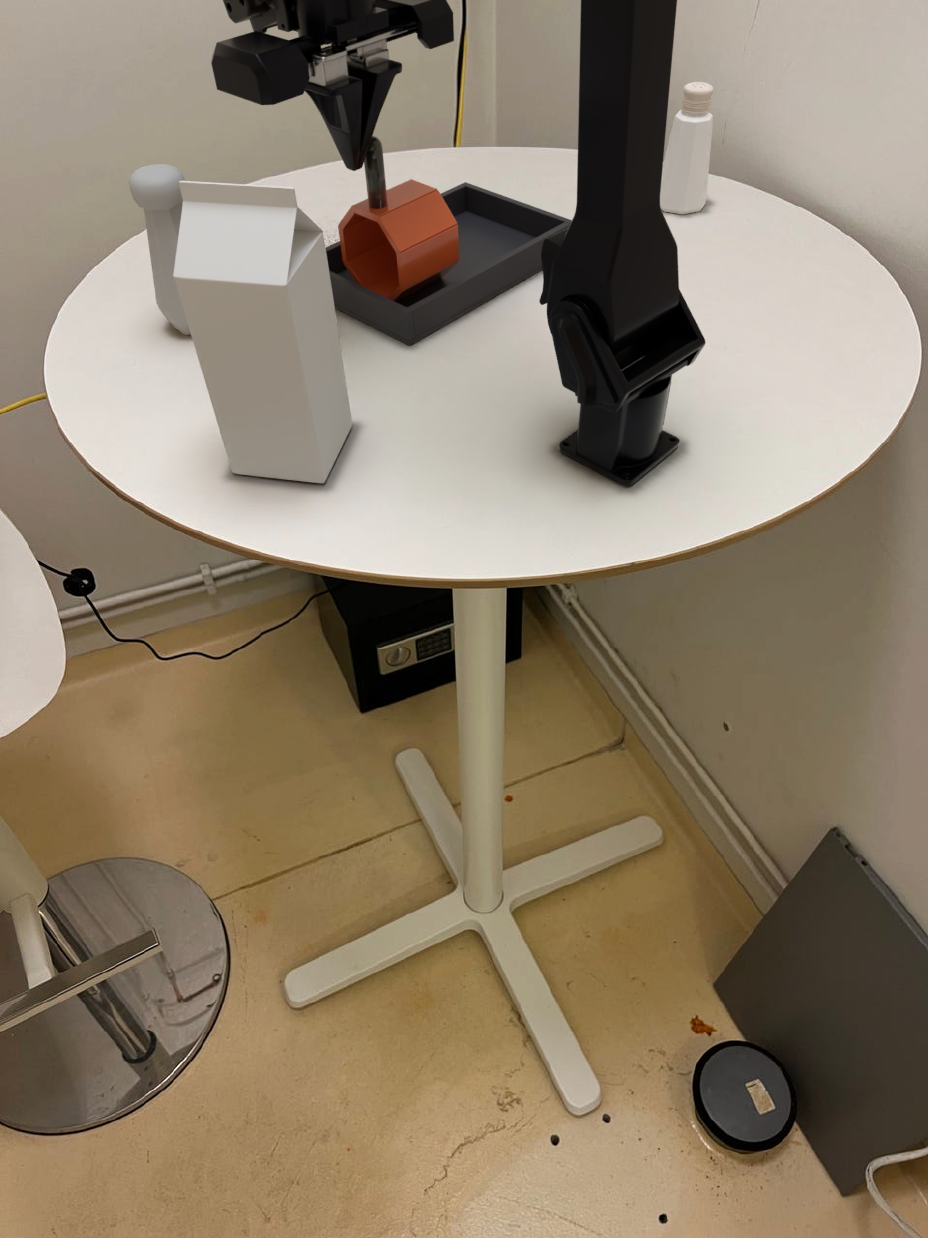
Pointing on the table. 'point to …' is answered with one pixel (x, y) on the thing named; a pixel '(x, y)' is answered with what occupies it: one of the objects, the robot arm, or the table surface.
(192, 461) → the table surface
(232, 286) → the milk carton
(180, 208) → the salt shaker
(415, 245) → the pot
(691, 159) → the pepper shaker
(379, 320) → the black tray
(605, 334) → the robot arm
